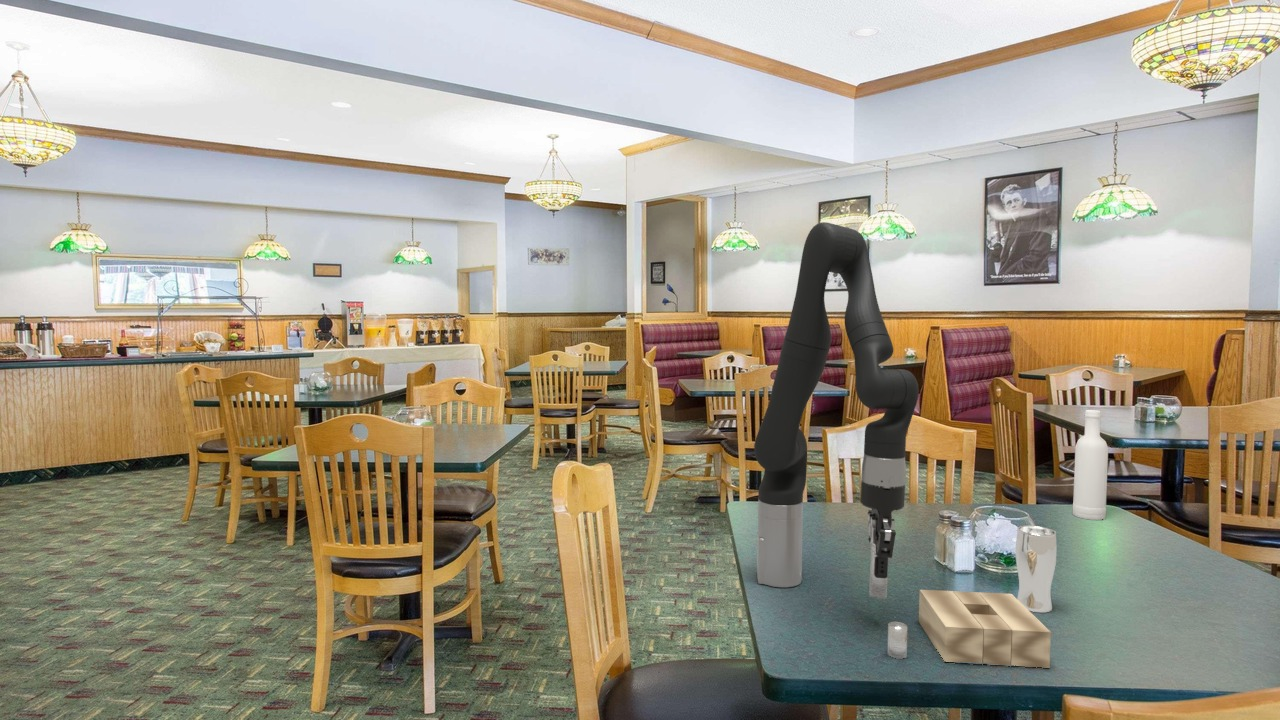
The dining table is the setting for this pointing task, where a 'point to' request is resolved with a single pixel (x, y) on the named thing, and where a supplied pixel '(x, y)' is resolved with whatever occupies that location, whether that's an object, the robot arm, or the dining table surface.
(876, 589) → the long steel pin
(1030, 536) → the beer glass
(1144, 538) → the dining table surface
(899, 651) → the short steel pin
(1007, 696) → the dining table surface
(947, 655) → the oak hole block
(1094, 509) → the bottle
